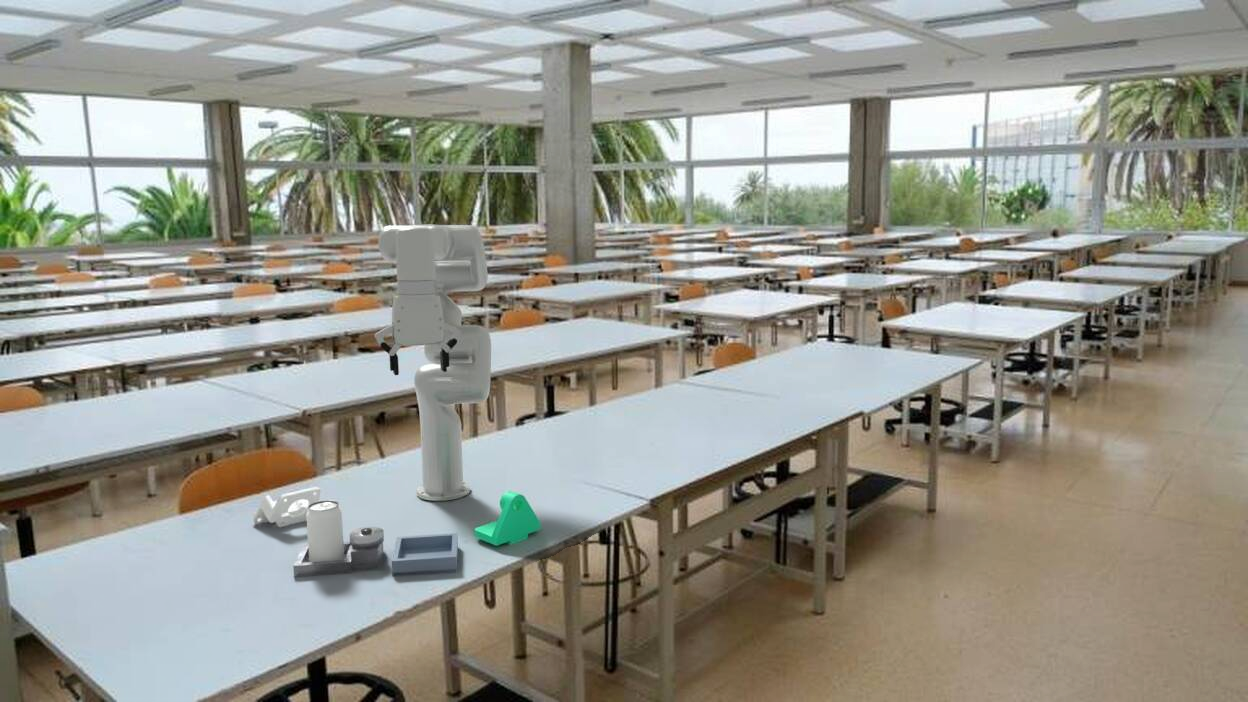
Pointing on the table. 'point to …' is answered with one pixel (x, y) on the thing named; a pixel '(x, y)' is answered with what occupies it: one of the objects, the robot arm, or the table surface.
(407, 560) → the tray
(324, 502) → the can
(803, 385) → the table surface
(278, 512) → the mounting bracket
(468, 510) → the table surface
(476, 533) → the camera mount
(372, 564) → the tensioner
